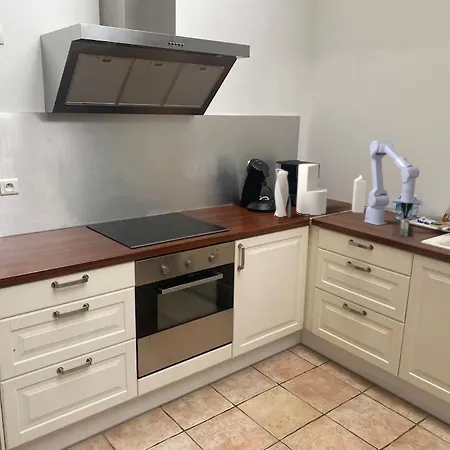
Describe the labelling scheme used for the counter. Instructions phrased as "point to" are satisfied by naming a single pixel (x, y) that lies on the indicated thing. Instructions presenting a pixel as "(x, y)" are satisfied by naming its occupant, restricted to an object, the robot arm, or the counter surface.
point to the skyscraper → (282, 194)
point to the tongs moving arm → (402, 228)
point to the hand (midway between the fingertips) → (405, 218)
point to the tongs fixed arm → (405, 226)
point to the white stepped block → (310, 191)
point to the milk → (359, 195)
